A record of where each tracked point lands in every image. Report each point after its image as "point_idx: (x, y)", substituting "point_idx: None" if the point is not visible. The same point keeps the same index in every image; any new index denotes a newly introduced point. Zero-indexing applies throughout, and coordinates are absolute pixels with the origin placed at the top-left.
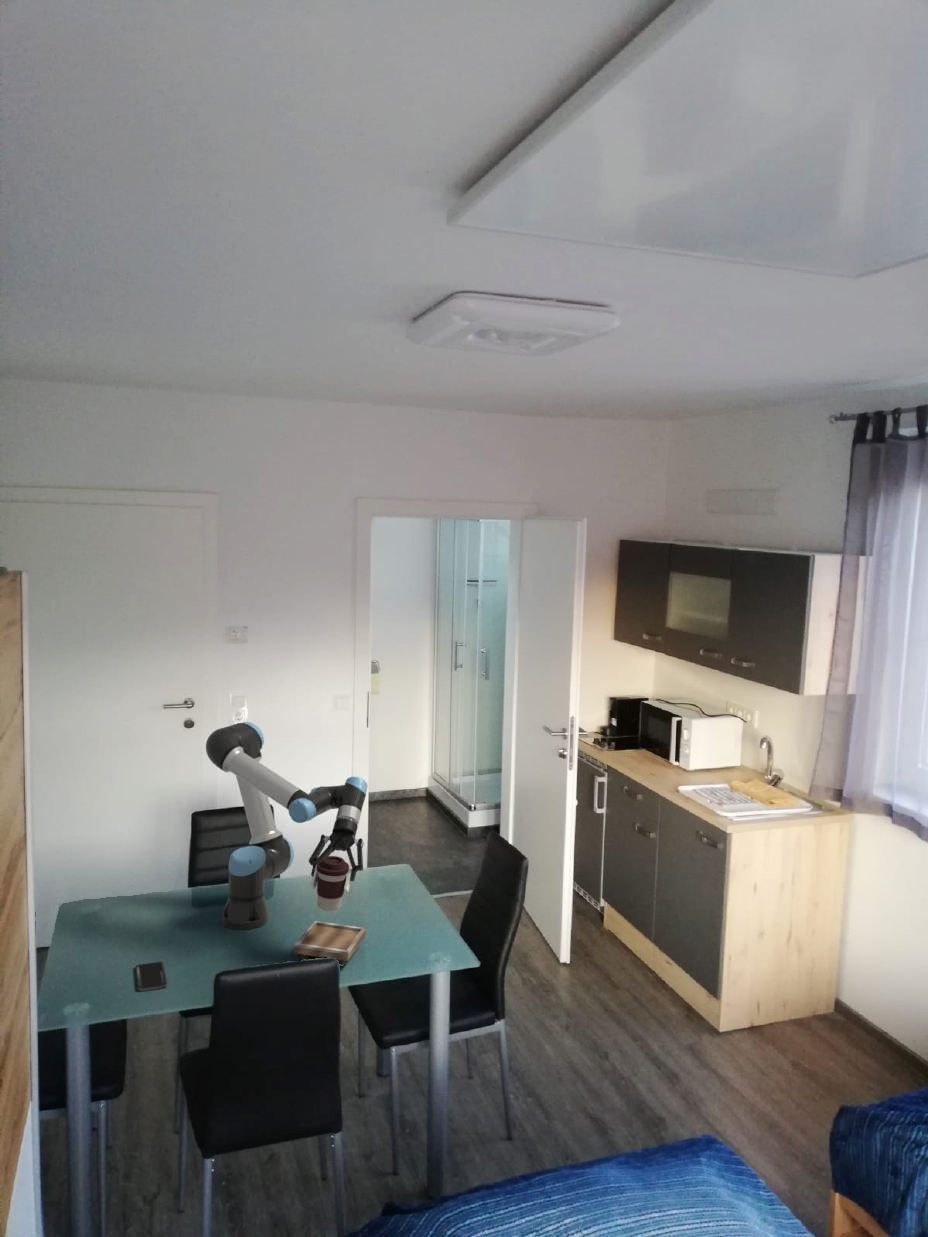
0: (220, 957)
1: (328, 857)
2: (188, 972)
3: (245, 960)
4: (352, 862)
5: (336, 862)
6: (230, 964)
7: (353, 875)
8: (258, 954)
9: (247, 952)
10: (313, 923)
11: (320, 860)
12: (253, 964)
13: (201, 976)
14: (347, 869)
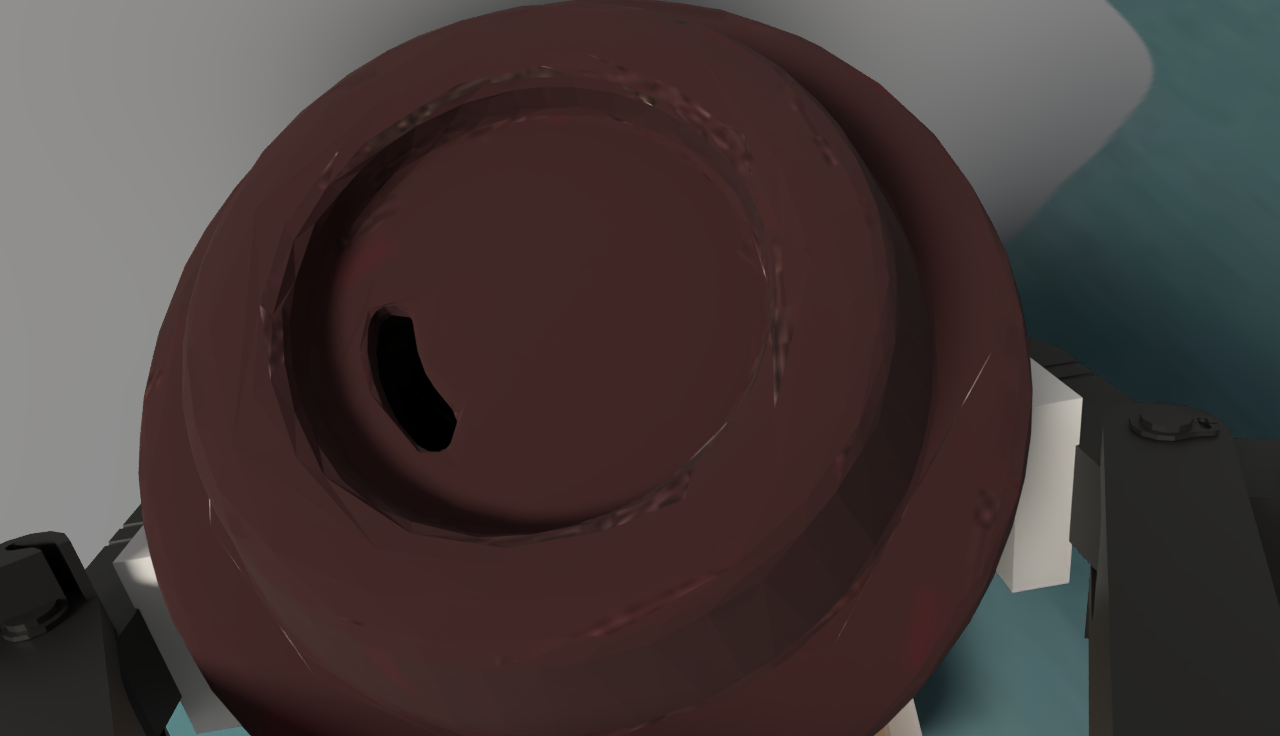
0: (1254, 224)
1: (776, 358)
2: (1255, 27)
3: (1091, 260)
4: (27, 715)
5: (445, 342)
6: (1131, 185)
7: (125, 534)
8: (1080, 358)
9: (1163, 349)
10: (914, 724)
11: (1104, 522)
12: (1011, 242)
13: (1159, 27)
14: (150, 378)
